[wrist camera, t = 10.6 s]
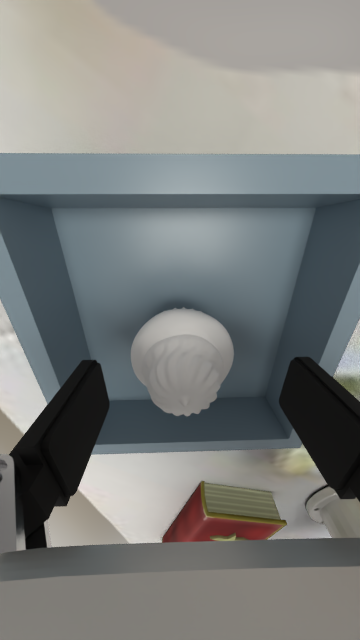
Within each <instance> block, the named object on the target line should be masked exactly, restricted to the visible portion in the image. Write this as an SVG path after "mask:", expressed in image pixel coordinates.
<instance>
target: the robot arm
mask: <svg viewBox="0 0 360 640" xmlns="http://www.w3.org/2000/svg"><path fill="white" fill-rule="evenodd" d="M279 405H280V407H281V409H282V410H283V412H284V414H285V415H286V417H287V419H288V420H289V422H290V424H291V425H292V427H293V428H294V430H295V432H296V433H297V435H298V437H299V438H300V440H301V442H302V443H303V445H304V446H305V448H306V450H307V451H308V453H309V455H310V456H311V458H312V460H313V461H314V463H315V464H316V466H317V468H318V469H319V471H320V473H321V474H322V476H323V478H324V479H325V481H326V482H327V484H328V485H329V487H326V488H324V489H322V490H320V491H319V492H317V493H316V494H314V495H313V496H312V497H311V498H310V499H309V500H308V502H307V505H306V509H307V512H308V514H309V516H310V518H311V519H312V520H314V521H315V522H317V523H320V524H325V525H326V527H327V529H328V531H329V533H330V535H331V537H332V538H319V539H276V540H238V541H203V542H170V543H140V544H111V545H87V546H69V547H52V545H51V539H50V531H49V525H48V518H49V516H50V514H51V512H52V510H53V508H54V506H67V504H68V501H69V499H70V496H73V495H74V494H75V493H76V491H77V489H78V486H79V484H80V481H81V479H82V476H83V474H84V471H85V469H86V466H87V464H88V461H89V459H90V456H91V454H92V451H93V448H94V446H95V443H96V441H97V438H98V436H99V433H100V431H101V428H102V426H103V423H104V421H105V418H106V415H107V413H108V410H109V406H110V402H109V398H108V393H107V389H106V385H105V380H104V376H103V372H102V367H101V364H100V363H97V361H96V360H82V361H81V362H80V364H79V365H78V366H77V367H76V369H75V370H74V371H73V373H72V374H71V375H70V376H69V378H68V379H67V380H66V382H65V383H64V384H63V386H62V387H61V388H60V389H59V391H58V392H57V393H56V394H55V396H54V397H53V398H52V400H51V401H50V402H49V403H48V405H47V406H46V407H45V409H44V410H43V411H42V413H41V414H40V415H39V416H38V418H37V419H36V420H35V422H34V423H33V424H32V425H31V427H30V428H29V429H28V431H27V432H26V433H25V435H24V436H23V437H22V438H21V440H20V441H19V442H18V444H17V445H16V446H15V447H14V449H13V450H12V451H11V453H10V454H9V455H8V454H0V640H360V402H359V401H358V400H357V399H356V398H355V397H354V396H353V395H352V394H350V393H349V392H348V391H347V390H346V389H345V388H344V387H343V386H342V385H340V384H339V383H338V382H337V381H336V380H335V379H334V378H333V377H332V376H330V375H329V374H328V373H327V372H326V371H325V370H324V369H323V368H322V367H320V366H319V365H318V364H317V363H316V362H315V361H314V360H313V359H311V358H310V357H295V358H294V359H293V360H291V361H290V364H289V367H288V371H287V374H286V377H285V380H284V384H283V387H282V390H281V394H280V397H279Z"/></svg>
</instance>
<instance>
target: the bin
mask: <svg viewBox="0 0 360 640" xmlns="http://www.w3.org/2000/svg"><path fill="white" fill-rule="evenodd" d="M0 299H1V301H2V304H3V306H4V308H5V310H6V313H7V315H8V317H9V319H10V321H11V324H12V326H13V328H14V330H15V333H16V335H17V337H18V339H19V342H20V344H21V346H22V348H23V350H24V353H25V355H26V357H27V359H28V362H29V364H30V366H31V368H32V370H33V373H34V375H35V377H36V379H37V382H38V384H39V386H40V388H41V390H42V393H43V395H44V397H45V399H46V402H47V404H48V403H49V402H50V401H51V400H52V398H53V397H54V396H55V394H56V393H57V392H58V391H59V389H60V388H61V387H62V386H63V384H64V383H65V382H66V380H67V379H68V378H69V376H70V375H71V374H72V373H73V371H74V370H75V369H76V367H77V366H78V365H79V364H80V362H81V361H82V360H96V361H97V363H100V364H101V367H102V372H103V376H104V380H105V385H106V389H107V393H108V398H109V402H110V406H109V410H108V413H107V415H106V418H105V421H104V423H103V426H102V428H101V431H100V433H99V436H98V438H97V441H96V443H95V446H94V448H93V451H92V454H124V453H156V452H188V451H220V450H252V449H284V448H300V447H301V445H302V442H301V440H300V438H299V437H298V435H297V433H296V432H295V430H294V428H293V427H292V425H291V424H290V422H289V420H288V419H287V417H286V415H285V414H284V412H283V410H282V409H281V407H280V405H279V397H280V394H281V390H282V387H283V384H284V380H285V377H286V374H287V371H288V367H289V364H290V361H291V360H293V359H294V358H295V357H310V358H311V359H313V360H314V361H315V362H316V363H317V364H318V365H319V366H320V367H322V368H323V369H324V370H325V371H326V372H327V373H328V374H329V375H330V376H332V377H333V375H334V373H335V371H336V369H337V366H338V364H339V362H340V360H341V358H342V355H343V353H344V351H345V349H346V347H347V345H348V342H349V340H350V338H351V336H352V334H353V332H354V329H355V327H356V325H357V323H358V321H359V319H360V155H337V154H59V153H0ZM183 307H184V308H186V309H192V308H193V309H194V310H196V311H202V312H203V313H205V314H207V315H209V316H211V317H213V318H214V319H216V320H217V321H219V322H220V323H221V324H222V325H223V326H224V328H225V329H226V330H227V332H228V334H229V335H230V338H231V340H232V343H233V349H234V358H233V363H232V366H231V369H230V371H229V373H228V374H227V376H226V378H225V379H224V381H223V382H222V383H221V384H220V386H221V387H220V389H219V390H218V391H217V392H216V393H217V398H216V400H215V401H213V402H211V403H210V406H209V408H207V409H201V411H200V413H199V414H195V413H191V414H190V416H185V415H184V414H182V415H180V416H175V415H174V414H173V413H166V412H164V411H163V410H162V409H161V408H159V407H158V406H156V405H155V404H154V403H153V401H152V399H151V395H150V394H149V392H148V389H147V387H146V386H145V385H144V384H142V383H141V382H140V380H139V379H138V378H137V376H136V375H135V373H134V370H133V367H132V363H131V347H132V343H133V341H134V338H135V336H136V335H137V333H138V332H139V330H140V329H141V328H142V326H143V325H144V324H145V323H146V322H148V321H149V320H150V319H151V318H153V317H154V316H156V315H157V314H159V313H162V312H163V311H167V310H172V309H174V308H177V309H182V308H183ZM92 454H91V455H92Z"/></svg>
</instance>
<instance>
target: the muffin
mask: <svg viewBox="0 0 360 640" xmlns="http://www.w3.org/2000/svg"><path fill="white" fill-rule="evenodd" d="M233 358H234V349H233V343H232V340H231V338H230V335H229V334H228V332H227V330H226V329H225V328H224V326H223V325H222V324H221V323H220V322H219V321H217V320H216V319H214V318H213V317H211V316H209V315H207V314H205V313H203V312H202V311H196V310H194V309H193V308H192V309H186V308H184V307H183V308H182V309H177V308H174V309H172V310H167V311H163V312H162V313H159V314H157V315H156V316H154V317H153V318H151V319H150V320H149V321H148V322H146V323H145V324H144V325H143V326H142V328H141V329H140V330H139V332H138V333H137V335H136V336H135V338H134V341H133V343H132V347H131V363H132V367H133V370H134V373H135V375H136V376H137V378H138V379H139V380H140V382H141V383H142V384H144V385H145V386H146V387H147V389H148V392H149V394H150V395H151V399H152V401H153V403H154V404H155V405H156V406H158V407H159V408H161V409H162V410H163V411H164V412H166V413H173V414H174V415H175V416H180V415H182V414H184V415H185V416H190V414H191V413H195V414H199V413H200V411H201V409H207V408H209V406H210V403H211V402H213V401H215V400H216V398H217V393H216V392H217V391H218V390H219V389H220V387H221V386H220V384H221V383H222V382H223V381H224V379H225V378H226V376H227V374H228V373H229V371H230V369H231V366H232V363H233Z"/></svg>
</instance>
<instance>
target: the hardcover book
mask: <svg viewBox="0 0 360 640" xmlns="http://www.w3.org/2000/svg"><path fill="white" fill-rule="evenodd" d="M285 525H287V523H286V520H281V518H280V516H279V513H278V510H277V508H276V505H275V502H274V500H273V497H272V494H271V492H267V491H260V490H253V489H246V488H238V487H231V486H224V485H216V484H209V483H204V481H202V482H201V483H200V484H199V486H198V487H197V489H196V490H195V492H194V493H193V495H192V496H191V497H190V499H189V500H188V502H187V503H186V505H185V506H184V508H183V509H182V510H181V512H180V513H179V515H178V516H177V518H176V519H175V521H174V522H173V523H172V525H171V526H170V528H169V529H168V531H167V532H166V534H165V535H164V536H163V539H162V543H170V542H203V541H238V540H267V539H268V538H270V537H271V536H272V535H274V534H275V533H276V532H278V531H279V530H280V529H281V528H283V527H284V526H285Z"/></svg>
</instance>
